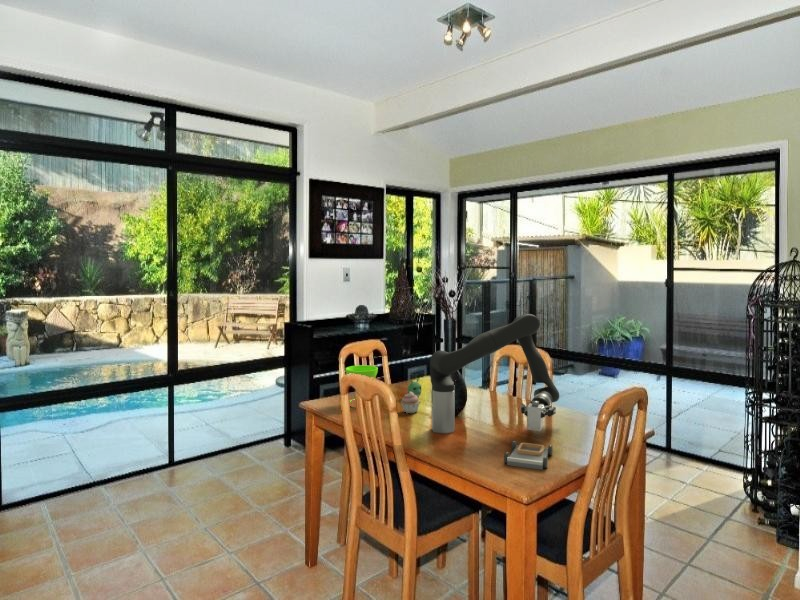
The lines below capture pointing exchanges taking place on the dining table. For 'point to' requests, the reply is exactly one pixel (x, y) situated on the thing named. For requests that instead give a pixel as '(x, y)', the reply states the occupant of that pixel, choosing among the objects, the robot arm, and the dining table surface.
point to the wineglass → (363, 370)
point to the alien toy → (414, 388)
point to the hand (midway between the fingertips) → (534, 414)
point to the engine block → (534, 416)
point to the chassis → (528, 455)
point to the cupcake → (410, 403)
